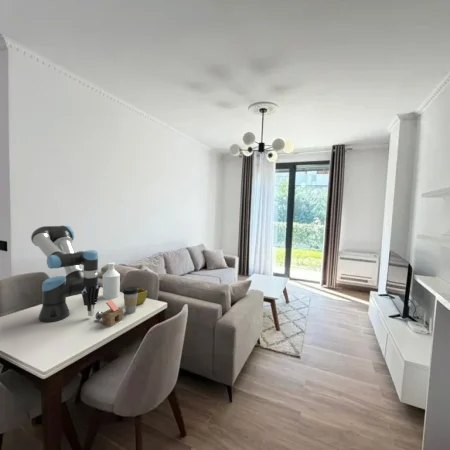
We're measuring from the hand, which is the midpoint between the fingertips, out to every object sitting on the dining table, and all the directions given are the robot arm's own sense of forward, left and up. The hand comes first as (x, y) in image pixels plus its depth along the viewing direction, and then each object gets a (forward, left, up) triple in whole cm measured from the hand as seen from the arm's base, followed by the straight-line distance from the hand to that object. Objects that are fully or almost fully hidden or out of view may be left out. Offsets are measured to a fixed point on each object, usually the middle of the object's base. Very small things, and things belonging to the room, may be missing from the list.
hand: (90, 315), depth 153 cm
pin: (+11, 0, -1) cm, 11 cm away
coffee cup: (+16, +16, -2) cm, 23 cm away
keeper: (+15, 0, +8) cm, 17 cm away
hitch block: (+16, 0, -2) cm, 16 cm away
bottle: (-15, +35, -2) cm, 38 cm away
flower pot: (+12, +30, -2) cm, 32 cm away
